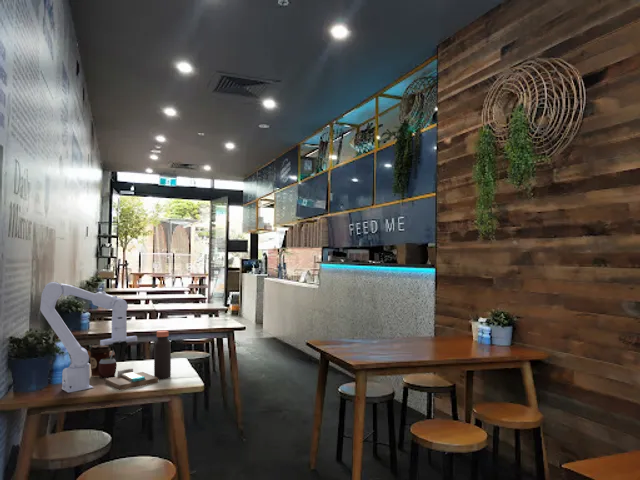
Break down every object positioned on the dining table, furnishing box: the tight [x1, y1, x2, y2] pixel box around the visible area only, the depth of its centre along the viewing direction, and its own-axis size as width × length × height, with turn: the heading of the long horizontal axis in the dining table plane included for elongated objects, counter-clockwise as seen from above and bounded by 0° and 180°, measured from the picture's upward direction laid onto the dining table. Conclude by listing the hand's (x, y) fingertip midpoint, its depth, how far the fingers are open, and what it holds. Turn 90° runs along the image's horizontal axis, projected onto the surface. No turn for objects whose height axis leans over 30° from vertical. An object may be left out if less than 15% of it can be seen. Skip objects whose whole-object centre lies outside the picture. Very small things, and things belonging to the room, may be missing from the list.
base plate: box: [104, 367, 159, 391], centre depth 201 cm, size 16×14×4 cm
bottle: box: [153, 329, 172, 380], centre depth 209 cm, size 7×7×20 cm
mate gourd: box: [98, 349, 117, 379], centre depth 210 cm, size 8×8×15 cm
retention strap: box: [121, 371, 145, 382], centre depth 200 cm, size 5×12×1 cm, turn 45°
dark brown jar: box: [88, 344, 112, 378], centre depth 213 cm, size 9×8×13 cm
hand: (118, 360), depth 200 cm, fingers closed
